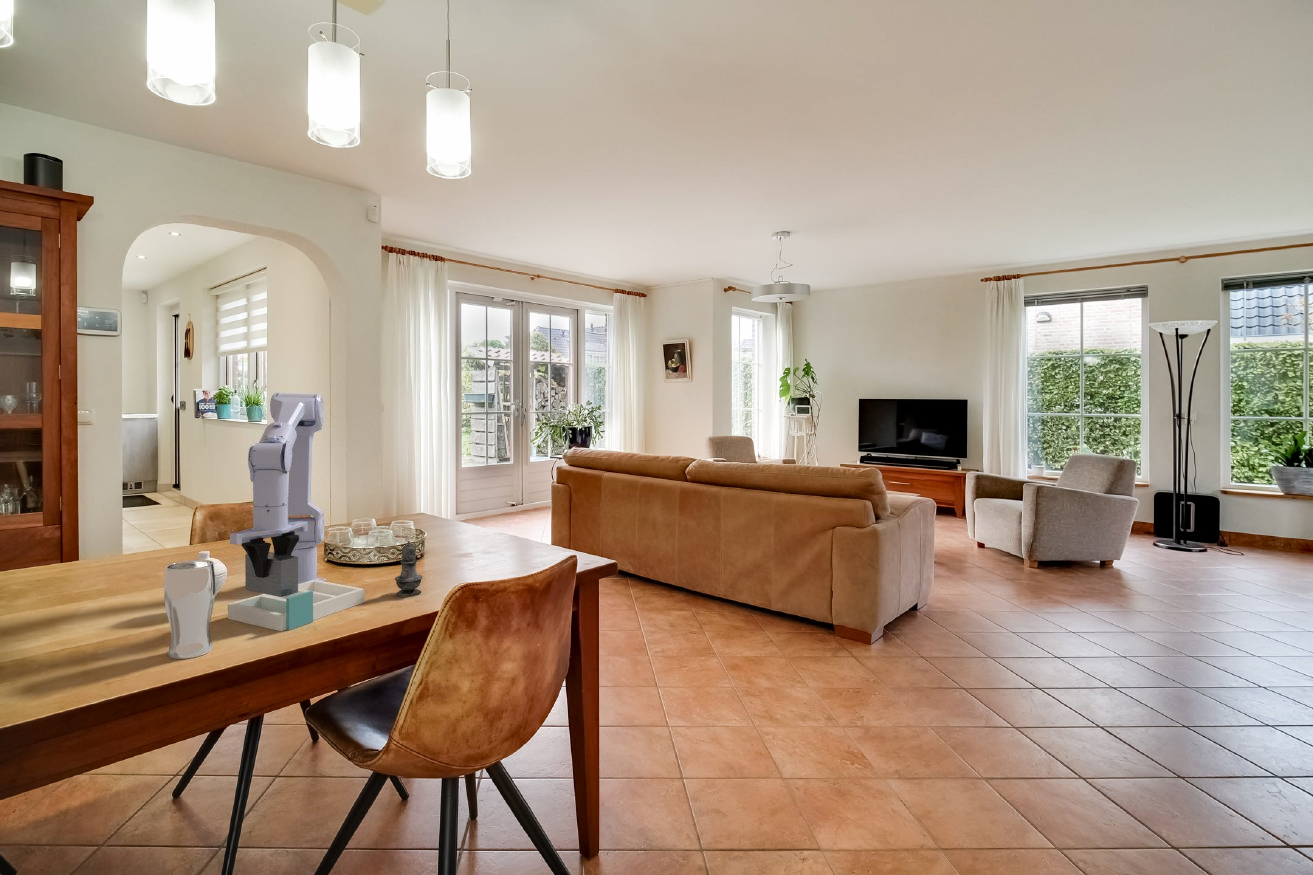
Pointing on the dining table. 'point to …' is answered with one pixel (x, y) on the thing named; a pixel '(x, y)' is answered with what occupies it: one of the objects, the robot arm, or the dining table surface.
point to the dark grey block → (274, 575)
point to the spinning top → (215, 569)
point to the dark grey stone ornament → (408, 573)
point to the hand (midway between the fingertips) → (271, 574)
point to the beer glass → (189, 607)
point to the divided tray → (296, 605)
